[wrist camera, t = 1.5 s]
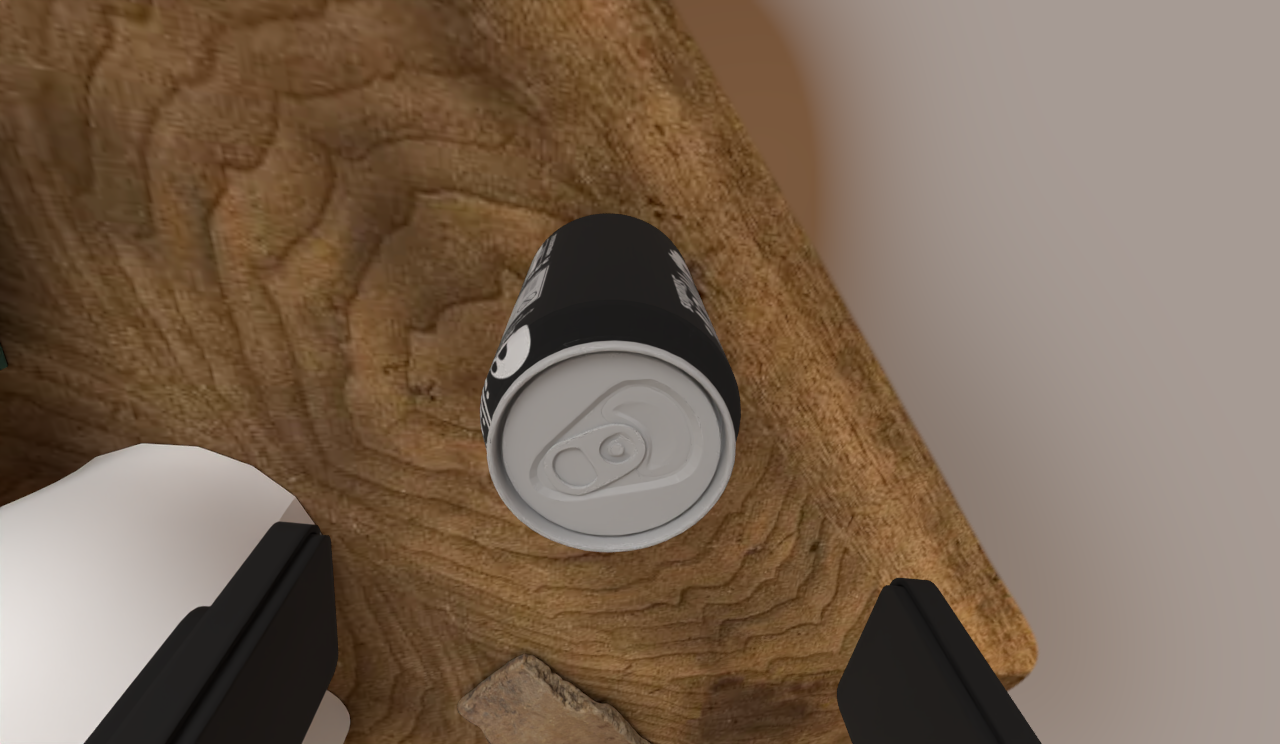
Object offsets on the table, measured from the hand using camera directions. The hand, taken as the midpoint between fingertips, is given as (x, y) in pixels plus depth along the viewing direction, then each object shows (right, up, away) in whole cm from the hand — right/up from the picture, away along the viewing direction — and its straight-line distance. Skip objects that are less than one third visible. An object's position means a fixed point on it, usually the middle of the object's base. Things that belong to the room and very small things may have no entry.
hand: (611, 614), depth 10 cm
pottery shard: (-4, -18, +27) cm, 33 cm away
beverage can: (-1, +8, +14) cm, 16 cm away
